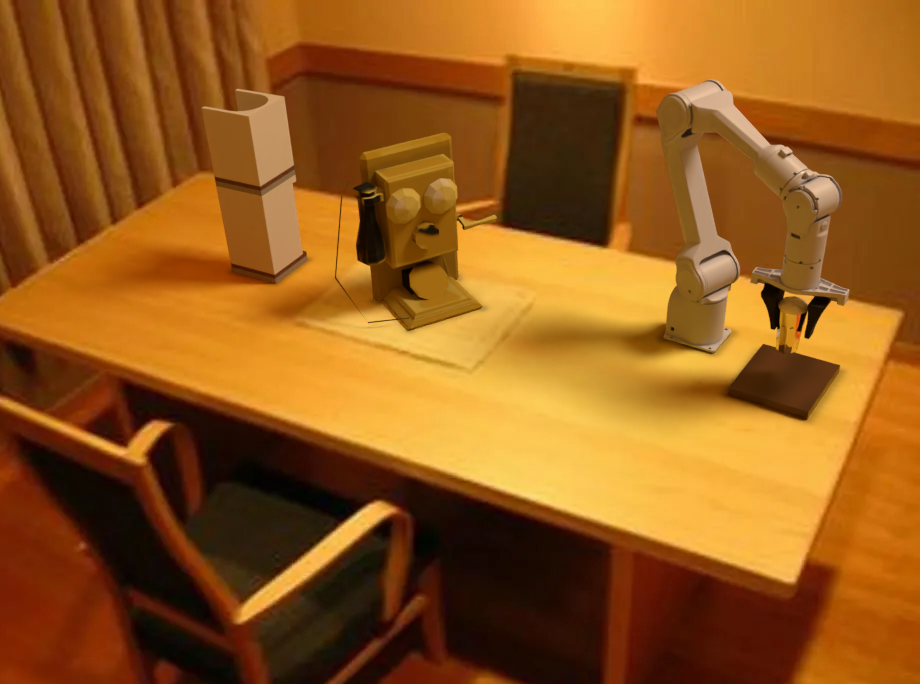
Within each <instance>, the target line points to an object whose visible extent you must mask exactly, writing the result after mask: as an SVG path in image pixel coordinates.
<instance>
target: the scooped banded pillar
mask: <svg viewBox="0 0 920 684" xmlns="http://www.w3.org/2000/svg"><path fill="white" fill-rule="evenodd" d="M234 94H235V99H236V106H237V110H236V111H235V110H227V109H223V108H216V107H212V106H202V107H201V114H202V119H203V123H204V129H205V135H206V139H207V145H208V151H209V155H210V162H211V166H212V172H213V177H214V181H215V188H216V193H217V198H218V204H219V209H220V214H221V219H222V225H223V229H224V235H225V240H226V246H227V251H228V257H229V262H230V266H231V272H232V273H235V274H238V275H242V276H245V277H250V278H253V279H257V280H261V281H265V282H267V283H272V284H275V285H277V284H278V283H280V282H281V281H282V280H283V279H285V278H286V277H288V276H289V275H290V274H291V273H293V272H294V271H296V269H298V268H299V267H300V266H302V265H303V264H305V263H306V262H308V253H307V251H306V250H303V246H302V238H301V231H300V224H299V217H298V210H297V203H296V196H295V189H294V183H296V182H297V176H296V170H295V162H294V155H293V148H292V142H291V141H292V140H291V135H290V128H289V127H290V126H289V120H288V113H287V106H286V99H285V95H284V96H283V95H278V94H272V93H265V92H260V91H254V90H248V89H242V88H236V89H234Z"/></svg>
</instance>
